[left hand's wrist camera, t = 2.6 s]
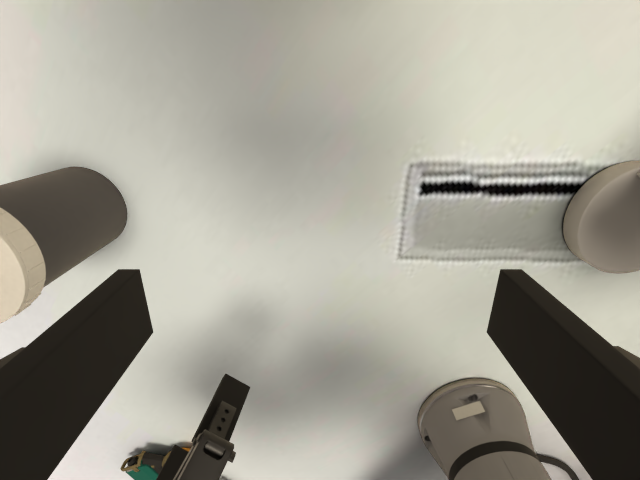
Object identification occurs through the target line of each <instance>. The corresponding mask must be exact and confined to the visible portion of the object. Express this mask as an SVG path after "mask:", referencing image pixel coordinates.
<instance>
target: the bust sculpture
mask: <svg viewBox="0 0 640 480" xmlns="http://www.w3.org/2000/svg"><path fill="white" fill-rule="evenodd" d="M563 234H564V238H565V242H566V244H567V246H568V248H569V249H570V250H571V252H572V253H573V254H574V255H576V256H577V257H578V258H580V259H582V260H583V261H585V262H586V263H588V264H590V265H591V266H593V267H595V268H597V269H599V270H601V271H604V272H609V273H629V272H634V271H638V270H640V161H629V162H623V163H619V164H616V165H613V166H611V167H609V168H606V169H605V170H603V171H601V172H599V173H598V174H596V175H595V176H593V177H592V178H591V179H590V180H588V181H587V182H586V183H585V184H584V185H583V186H582V187H581V188H580V189H579V190H578V192H577V193H576V194H575V196H574V197H573V199H572V200H571V202H570V204H569V206H568V208H567V211H566V214H565V217H564V223H563Z"/></svg>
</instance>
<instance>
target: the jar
mask: <svg viewBox="0 0 640 480" xmlns="http://www.w3.org/2000/svg"><path fill="white" fill-rule="evenodd" d="M0 208H2V209H3V210H5V211H7V212H8V213H9V214H11V215H12V216H13V217H14V218H16V219H17V220H18V221H19V222H20V223H21V224H22V225H23V226H24V227H25V228H26V229H27V230H28V231H29V233H30V234H31V235H32V237H33V238H34V240H35V241H36V243H37V244H38V246H39V248H40V250H41V253H42V255H43V258H44V262H45V269H46V278H45V279H46V280H45V283H44V287H45V286H46V285H48V284H49V283H51V282H52V281H54V280H55V279H57V278H58V277H60V276H61V275H63V274H64V273H66V272H67V271H68V270H70V269H71V268H73V267H74V266H76V265H77V264H79V263H80V262H82V261H83V260H85V259H86V258H88V257H89V256H91V255H92V254H94V253H95V252H97V251H98V250H99V249H101V248H102V247H104V246H105V245H107V244H108V243H110V242H111V241H113V240H114V239H116V238H117V237H118V236H119V235H120V234H121V233H122V231H123V229H124V227H125V225H126V220H127V210H126V205H125V202H124V200H123V197H122V196H121V194H120V192H119V191H118V189H117V188H116V187H115V186H114V184H113V183H111V182H110V181H109V180H108V179H107V178H106V177H104V176H103V175H101V174H99V173H97V172H95V171H93V170H90V169H87V168H82V167H68V168H64V169H60V170H56V171H52V172H49V173H45V174H41V175H37V176H34V177H30V178H26V179H22V180H19V181H15V182H11V183H7V184H4V185H0Z"/></svg>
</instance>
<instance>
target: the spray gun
mask: <svg viewBox="0 0 640 480" xmlns="http://www.w3.org/2000/svg"><path fill="white" fill-rule="evenodd" d="M183 449H185V450H187V451H190V449H191V448H183ZM170 452H171V451H169V452H168V454H167V455H166V456H165V457H164V456H162V455H158V454H153V453H147V452H146V451H142V452H141V454H139V455H136V456H133V457H130V458H128V459H126V460H125V461H124V463H123V465H122V467H121V470H122V471H126V473H127V474H129V475H130V476H131V477H132V478H133V479H134V480H156V479H157V477H158V475H159V473H160V471H161V469H162V467H163V466H164V464H165V462H166V460H167V458H168V456H169V454H170ZM127 462H128V463H127ZM126 464H128V466H127V467H126V468H124V467H125V465H126Z"/></svg>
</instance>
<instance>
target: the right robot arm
mask: <svg viewBox="0 0 640 480" xmlns="http://www.w3.org/2000/svg"><path fill="white" fill-rule="evenodd" d="M249 389H250V387H249V386H247V385H246V384H244V383H242V382H240V381H238V380H236V379H235V378H233V377H231V376H229V375H227V374H225V375H224V377H223V378H222V380H221V382H220V384H219V386H218V388H217V390H216V393H215V395H214V397H213V399H212V401H211V403H210V405H209V407H208V409H207V411H206V413H205V415H204V417H203V419H202V421H201V423H200V425H199V427H198V429H197V431H196V433H195V435H194V437H193V439H192V442H193V443H192V447H191V449H190V451H187V450H185V449H183V448H181V447H179V446H177V445H175V446H174V447H173V449H172V451H171V452H170V454H169V456H168V458H167V460H166V462H165V464H164V466H163V467H162V469H161V471H160V473H159V475H158V477H157V479H156V480H219V478H220V476H221V474H222V472H223V469H224V467H225V465H226V463H227V461H230V462H233V460H234V457H235V454H236V452H234V451H233V449H234V444H232V443H230V442H229V441H230V438H231V435H232V433H233V430H234V428H235V425H236V423H237V420H238V417H239V415H240V412H241V410H242V407H243V405H244V402H245V399H246V397H247V394H248V392H249ZM418 427H419V431H420V434H421V437H422V440H423V442H424V444H425V446H426V447H427V449H428V450H429V452H430V453H431V454H432V456H433V457H434V459H435V460H436V462H437V463H438V464H439V466H440V467H441V469H442V470H443V471H444V473H445V474H446V476H447V477H448V479H449V480H551V478H550V476H549V475H548V473H547V471H546V470H545V468H544V467H543V465H542V463H541V462H545V463H549V464H552V465H555V466H558V467H560V468H562V469H563V470H565V471H566V472H567V473H568V474H569V476H570V477H571V479H572V480H579V479H578V477H577V476H576V474H575V473H574V471H573V470H572V469H571V468H570V467H568V466H567V465H566V464H564V463H563V462H561V461H559V460H557V459H554V458H551V457H547V456H542V455H537V454H536V453H535V452H534V449H533V445H532V441H531V437H530V433H529V429H528V425H527V421H526V417H525V413H524V411H523V408H522V406H521V404H520V402H519V401H518V399H517V398H516V396H515V395H514V394H513V392H512V391H511V390H510V389H509V388H507V387H506V386H504V385H502V384H501V383H498V382H496V381H492V380H488V379H478V378H475V379H464V380H460V381H456V382H453V383H450V384H448V385H445V386H444V387H442V388H440V389H438V390H437V391H435V392H434V393H433V394H432V395H431V396H429V398H428V399H427V400H426V401H425V402H424V404H423V405H422V407H421V409H420V412H419V415H418Z"/></svg>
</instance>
